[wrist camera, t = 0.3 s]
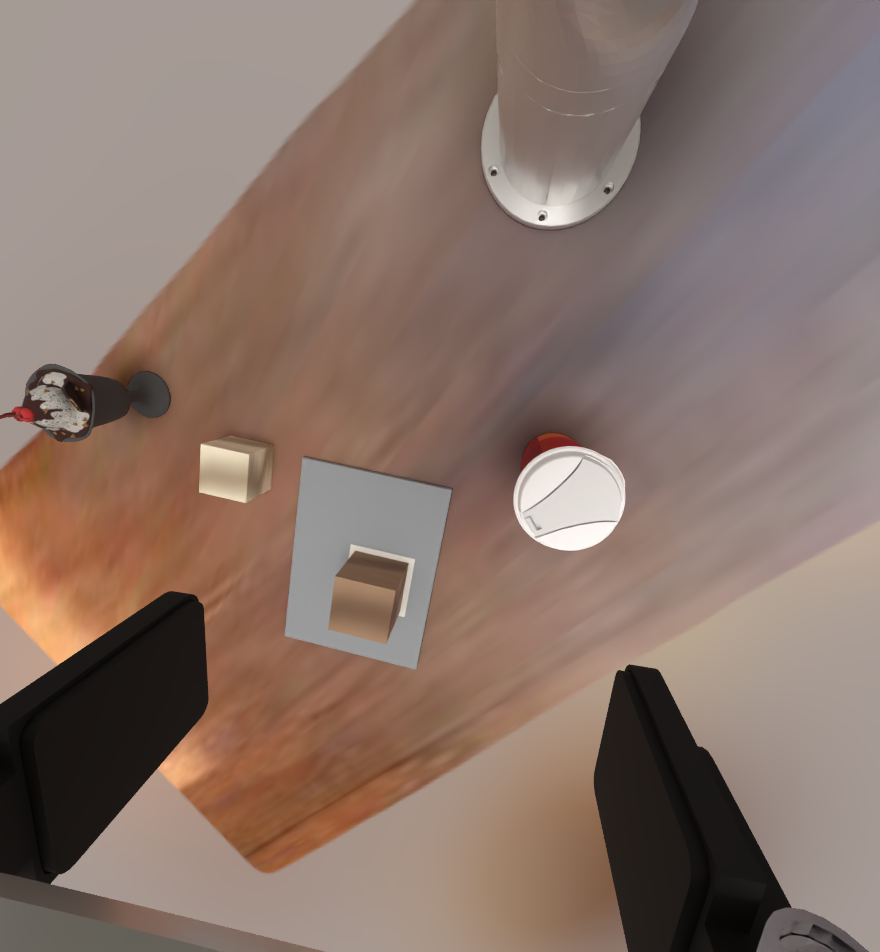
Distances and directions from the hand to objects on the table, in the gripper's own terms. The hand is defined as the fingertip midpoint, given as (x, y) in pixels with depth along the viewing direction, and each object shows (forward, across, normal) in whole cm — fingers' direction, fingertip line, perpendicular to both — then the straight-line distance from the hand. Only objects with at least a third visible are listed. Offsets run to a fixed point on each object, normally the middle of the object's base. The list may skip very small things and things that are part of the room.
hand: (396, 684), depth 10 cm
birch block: (+36, +24, +6) cm, 44 cm away
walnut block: (+35, +9, +17) cm, 40 cm away
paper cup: (+36, -7, +2) cm, 37 cm away
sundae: (+36, +36, 0) cm, 51 cm away
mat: (+36, +11, +16) cm, 41 cm away
